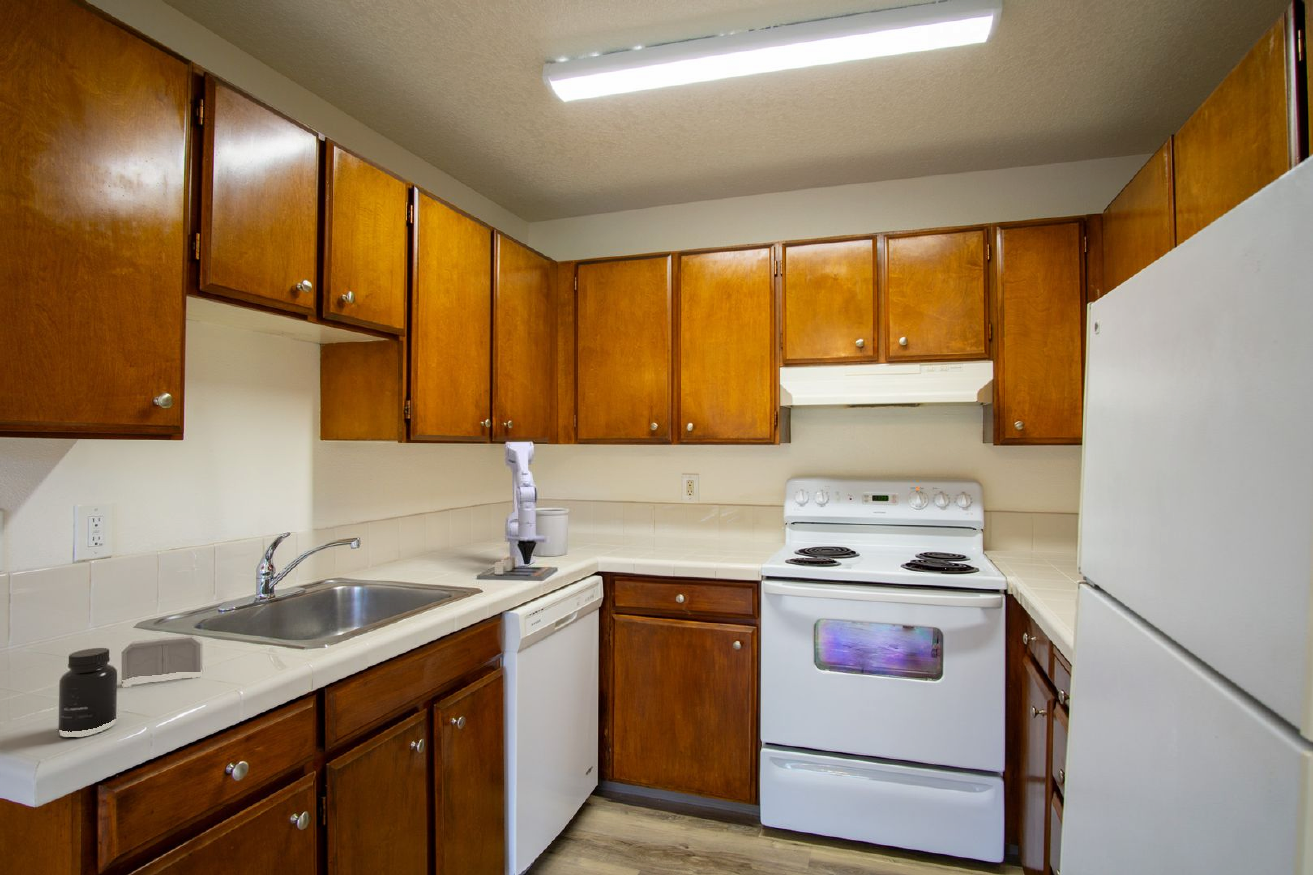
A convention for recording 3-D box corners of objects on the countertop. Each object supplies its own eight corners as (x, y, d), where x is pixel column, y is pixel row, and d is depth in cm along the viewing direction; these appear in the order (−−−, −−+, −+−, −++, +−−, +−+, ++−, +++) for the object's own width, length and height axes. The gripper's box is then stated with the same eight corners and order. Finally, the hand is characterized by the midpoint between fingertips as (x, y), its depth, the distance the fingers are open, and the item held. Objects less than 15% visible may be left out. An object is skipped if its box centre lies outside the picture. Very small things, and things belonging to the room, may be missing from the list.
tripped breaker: (504, 569, 220) (504, 557, 220) (512, 569, 220) (512, 557, 220) (501, 570, 217) (501, 558, 218) (509, 570, 217) (509, 559, 217)
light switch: (124, 684, 121) (124, 642, 121) (202, 674, 126) (202, 633, 126) (121, 687, 120) (121, 644, 120) (200, 677, 124) (200, 636, 124)
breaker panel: (496, 569, 228) (496, 554, 228) (557, 570, 224) (557, 555, 224) (476, 579, 212) (476, 563, 212) (542, 580, 209) (542, 564, 209)
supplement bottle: (62, 744, 97) (61, 662, 97) (55, 730, 102) (55, 652, 102) (121, 728, 102) (120, 651, 102) (112, 716, 107) (112, 642, 107)
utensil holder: (553, 549, 269) (553, 506, 270) (576, 553, 259) (576, 508, 259) (523, 553, 259) (523, 509, 259) (546, 558, 248) (546, 512, 249)
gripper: (501, 524, 215) (501, 565, 215) (544, 524, 213) (544, 566, 213) (509, 521, 222) (509, 561, 222) (550, 521, 220) (551, 562, 220)
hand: (527, 563), depth 218 cm, fingers closed
